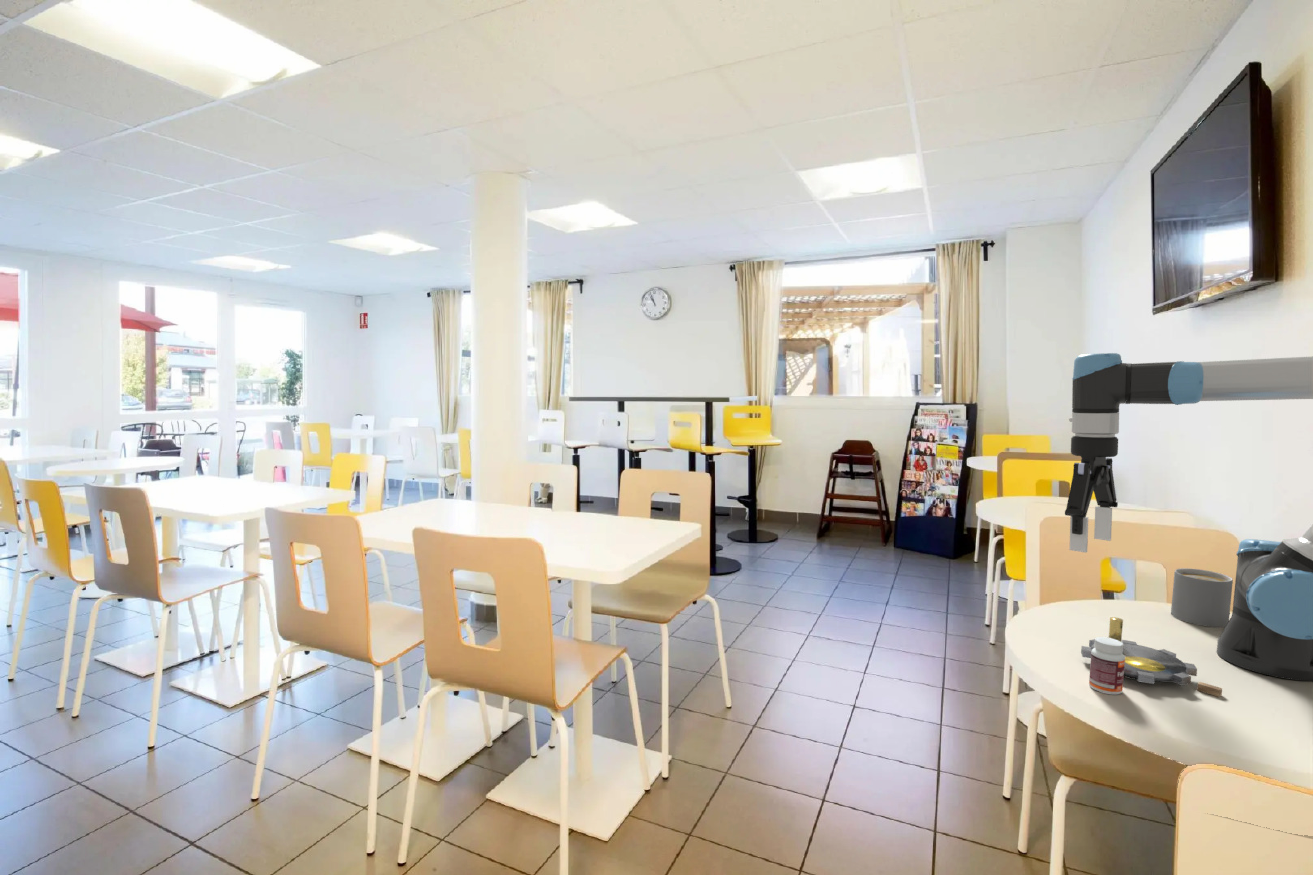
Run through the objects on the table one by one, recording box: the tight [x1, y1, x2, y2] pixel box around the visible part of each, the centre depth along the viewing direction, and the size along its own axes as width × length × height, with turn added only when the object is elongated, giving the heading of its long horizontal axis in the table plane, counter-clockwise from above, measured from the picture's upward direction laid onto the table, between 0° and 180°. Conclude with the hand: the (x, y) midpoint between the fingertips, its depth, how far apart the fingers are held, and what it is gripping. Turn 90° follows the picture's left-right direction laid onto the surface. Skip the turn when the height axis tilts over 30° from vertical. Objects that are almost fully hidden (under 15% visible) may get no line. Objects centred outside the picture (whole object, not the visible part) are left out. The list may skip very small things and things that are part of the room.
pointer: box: [1196, 681, 1223, 698], centre depth 112 cm, size 3×1×1 cm, turn 38°
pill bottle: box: [1088, 636, 1125, 696], centre depth 113 cm, size 5×5×8 cm
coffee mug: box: [1170, 567, 1234, 628], centre depth 148 cm, size 13×10×10 cm
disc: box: [1080, 616, 1198, 686], centre depth 120 cm, size 17×17×6 cm
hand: (1090, 545), depth 128 cm, fingers open, 13 cm apart
